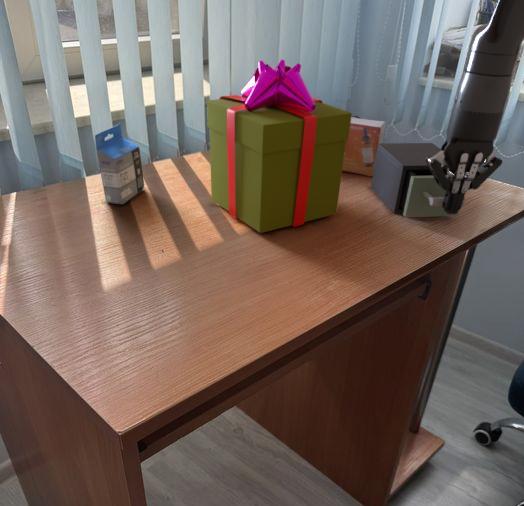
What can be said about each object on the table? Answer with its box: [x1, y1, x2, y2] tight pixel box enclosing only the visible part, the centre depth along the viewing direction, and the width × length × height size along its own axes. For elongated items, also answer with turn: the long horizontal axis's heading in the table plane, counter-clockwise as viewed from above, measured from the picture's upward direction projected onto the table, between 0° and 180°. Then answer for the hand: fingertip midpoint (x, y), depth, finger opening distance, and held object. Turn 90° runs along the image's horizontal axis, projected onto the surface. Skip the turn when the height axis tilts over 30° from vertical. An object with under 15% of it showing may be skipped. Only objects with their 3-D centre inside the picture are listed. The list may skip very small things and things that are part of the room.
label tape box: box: [94, 123, 146, 205], centre depth 98 cm, size 9×4×12 cm, turn 162°
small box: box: [342, 117, 386, 177], centre depth 115 cm, size 8×6×10 cm
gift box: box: [206, 59, 353, 234], centre depth 91 cm, size 21×21×25 cm
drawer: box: [399, 169, 466, 218], centre depth 97 cm, size 17×10×7 cm, turn 9°
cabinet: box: [370, 142, 448, 215], centre depth 103 cm, size 14×12×9 cm
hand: (450, 212), depth 90 cm, fingers closed
